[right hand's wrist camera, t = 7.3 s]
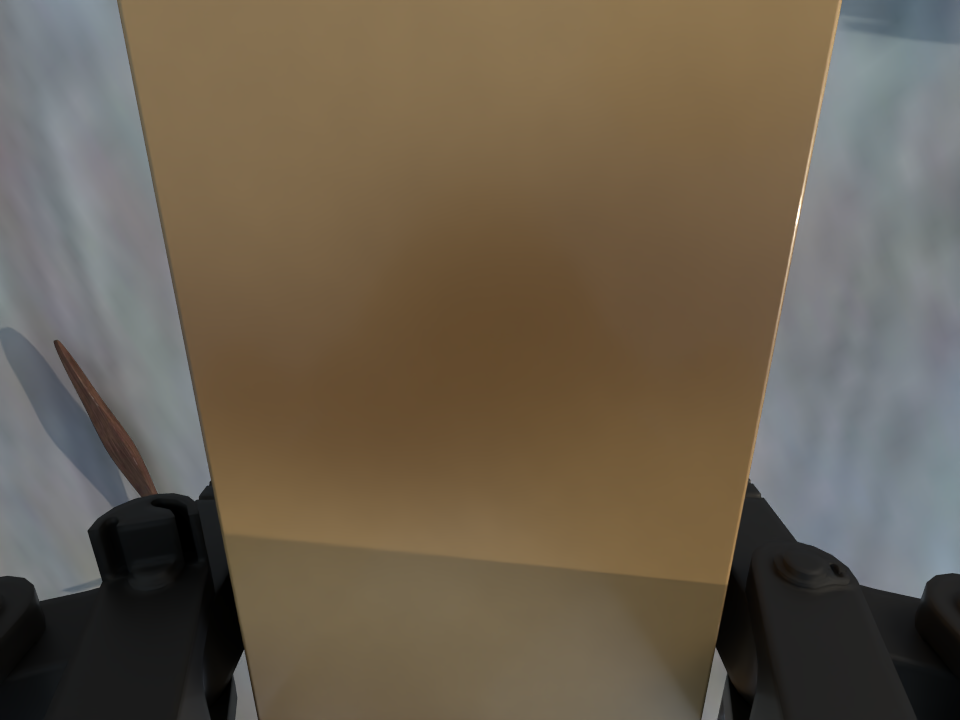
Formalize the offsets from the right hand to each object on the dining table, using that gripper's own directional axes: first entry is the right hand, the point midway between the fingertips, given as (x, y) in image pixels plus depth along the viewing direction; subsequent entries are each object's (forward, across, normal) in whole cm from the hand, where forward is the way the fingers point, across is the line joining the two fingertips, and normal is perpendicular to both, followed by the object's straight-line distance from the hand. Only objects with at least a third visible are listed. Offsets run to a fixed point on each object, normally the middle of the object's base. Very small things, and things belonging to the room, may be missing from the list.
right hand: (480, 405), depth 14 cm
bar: (+1, 0, -9) cm, 9 cm away
